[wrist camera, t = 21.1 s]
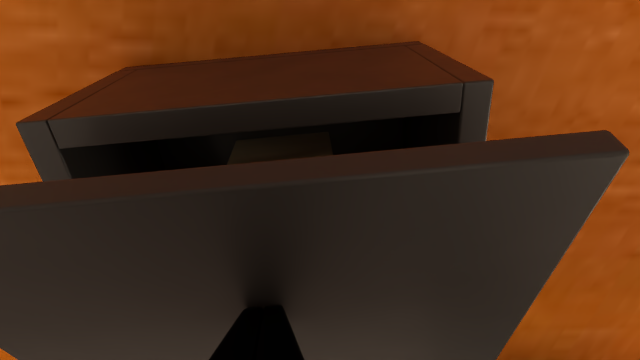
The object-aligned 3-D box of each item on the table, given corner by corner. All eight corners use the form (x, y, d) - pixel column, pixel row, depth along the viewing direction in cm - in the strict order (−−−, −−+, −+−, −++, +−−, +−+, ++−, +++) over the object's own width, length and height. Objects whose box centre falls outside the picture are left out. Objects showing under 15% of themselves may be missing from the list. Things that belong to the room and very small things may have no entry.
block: (328, 131, 16) (336, 173, 13) (334, 209, 18) (342, 264, 15) (235, 139, 16) (218, 184, 13) (250, 217, 18) (239, 274, 15)
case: (123, 67, 16) (13, 123, 10) (419, 40, 16) (495, 79, 10) (199, 308, 22) (161, 433, 16) (409, 289, 22) (450, 405, 16)
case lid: (-155, 197, 6) (-190, 227, 6) (609, 127, 6) (633, 151, 6) (160, 434, 16) (157, 451, 15) (451, 405, 16) (456, 422, 15)
